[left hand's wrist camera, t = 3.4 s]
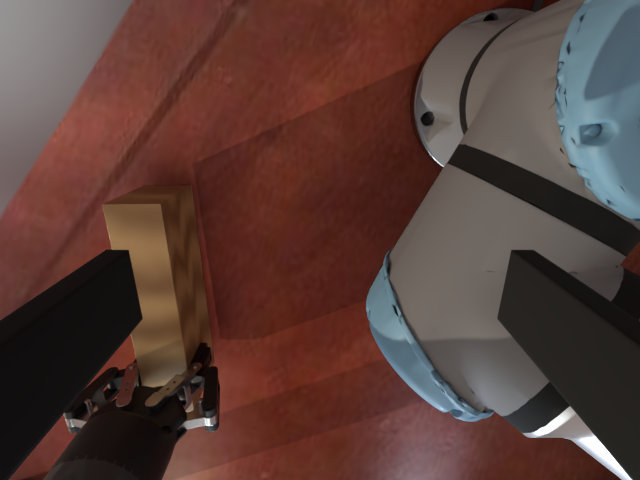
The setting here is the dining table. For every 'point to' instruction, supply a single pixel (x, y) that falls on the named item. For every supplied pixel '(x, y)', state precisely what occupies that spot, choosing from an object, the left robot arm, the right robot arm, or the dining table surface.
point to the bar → (163, 278)
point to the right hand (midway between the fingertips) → (180, 349)
